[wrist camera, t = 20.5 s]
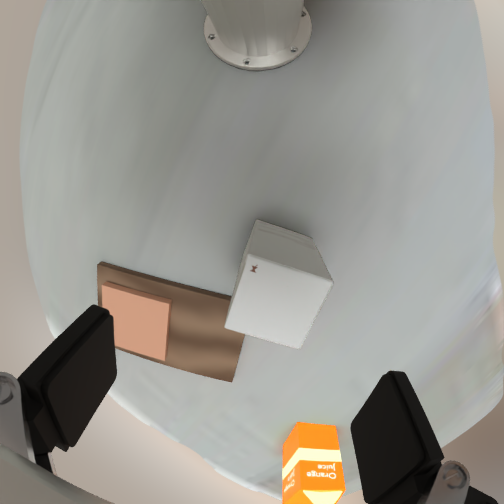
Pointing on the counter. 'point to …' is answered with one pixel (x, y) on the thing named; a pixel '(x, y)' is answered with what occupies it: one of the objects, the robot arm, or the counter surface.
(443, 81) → the counter surface
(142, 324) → the tile
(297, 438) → the orange juice
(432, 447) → the robot arm
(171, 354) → the board
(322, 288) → the supplement box
